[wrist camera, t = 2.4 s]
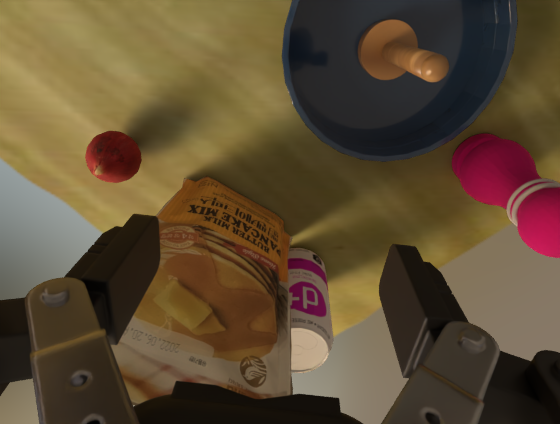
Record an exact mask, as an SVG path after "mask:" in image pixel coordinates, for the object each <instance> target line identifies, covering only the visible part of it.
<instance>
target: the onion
mask: <svg viewBox="0 0 560 424" xmlns="http://www.w3.org/2000/svg"><path fill="white" fill-rule="evenodd" d="M85 158H86V162H87V166H88V168H89V169H90V171H91V173H92V174H93V175H95V176H96V177H97V178H99V179H101V180H103V181H106V182H114V183H118V182H122V181H125V180H128V179H130V178H131V177H132V176H134V175H135V174H136V173H137V172H138V170H139V167H140V164H141V161H142V160H141V152H140V149H139V147H138V145H137V143H136V142H135V141H134V140H133V139H132V138H131V137H129V136H127V135H125V134H124V133H122V132H117V131H107V132H104V133H102V134H99V135H97V136H96V137H94V138H93V140H92V141H91V142H90V144H89V145H88V147H87V151H86V157H85Z"/></svg>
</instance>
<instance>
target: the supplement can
mask: <svg viewBox="0 0 560 424" xmlns="http://www.w3.org/2000/svg"><path fill="white" fill-rule="evenodd" d="M288 273H289V301H290V308H291V342H292V352H291V373H304V372H308V371H312V370H315V369H316V368H318V367H320V366H321V365H322V364H323V363H324V362H325V361H326V359H327V357H328V354H329V352H330V350H331V348H332V344H333V331H332V322H331V313H330V304H329V295H328V286H327V277H326V270H325V265H324V262H323V261H322V260H321V258H320V257H319V256H318V255H317V254H315V253H313V252H312V251H310V250H306V249H303V248H290V249H289V253H288Z"/></svg>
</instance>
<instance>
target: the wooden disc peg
mask: <svg viewBox="0 0 560 424" xmlns="http://www.w3.org/2000/svg"><path fill="white" fill-rule="evenodd" d="M358 59H359V62H360V64H361V66H362V67H363V69H364V70H365V71H366V72H367V73H369V74H370V75H371V76H373V77H375V78H377V79H380V80H391V79H395V78H397V77H399V76H401V75H402V74H404V73H405V72H406V71H408V72H410V73H412V74H414V75H416V76H418V77H420V78H422V79H424V80H426V81H428V82H437V81H440V80H441V79H443V78H444V77H445V76H446V74H447V73H448V70H449V63H448V60H447V58H446V57H445V56H443V55H441V54H438V53H434V52H430V51H427V50H423V49H419V48H418V42H417V37H416V34H415V32H414V31H413V29H412V28H411V27H410V26H409V25H408V24H407V23H405V22H403V21H400V20H394V19H385V20H380V21H377V22H375V23H374V24H372V25H371V26H369V27H368V28H367V29H366V30H365V32H364V33H363V35H362V36H361V38H360V41H359V45H358Z"/></svg>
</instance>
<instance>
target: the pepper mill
mask: <svg viewBox="0 0 560 424" xmlns="http://www.w3.org/2000/svg"><path fill="white" fill-rule="evenodd" d="M452 168H453V171H454V173H455V175H456V176H457V177H458V178H459V179H460V182H461V185H462V187H463V189H464V190H465V191H466V193H467V194H469V195H470V196H471V197H473V198H474V199H475V200H477V201H479V202H482V203H485V204H488V205H497V206H501V207H503V208H505V209H506V210H507V215H508V217H509V219H510V221H511V222H513V223H514V224H515V225H516V226H517V228H518V232H519V235H520V236H521V238H522V240H523V241H524V242H525V243H526V244H527V245H528V246H529V247H530V248H532V249H533V250H534V251H536V252H538V253H540V254H543V255H545V256H549V257H555V258H560V184H559V183H558V182H556V181H554V180H551V179H542V178H541V177H540V176H539V175H538V173H537V171H536V166H535V162H534V160H533V158H532V157H531V155H530V154H529V152H528V151H527V150H526V149H525V148H524V147H522V146H521V145H519V144H518V143H516V142H514V141H511V140H507V139H500V138H499V137H497V136H495V135H492V134H477V135H474V136H471V137H469V138H468V139H466V140H465V141H463V142H462V143H461V144H460V145H459V147H458V148H457V149H456V151H455V153H454V155H453V158H452Z"/></svg>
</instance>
